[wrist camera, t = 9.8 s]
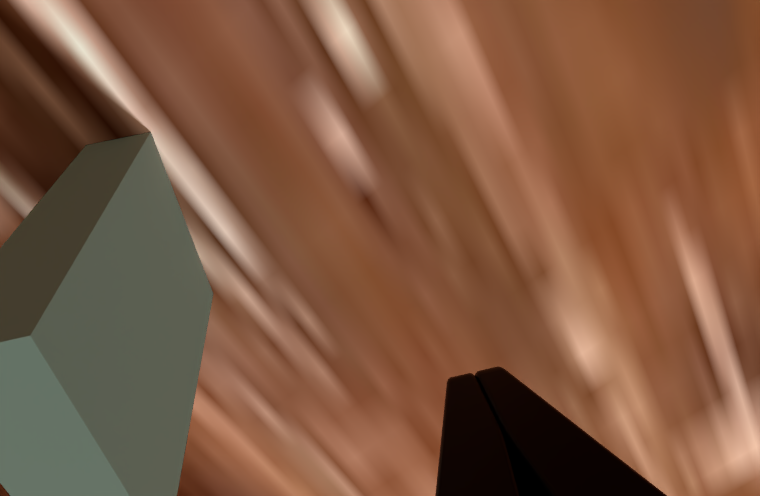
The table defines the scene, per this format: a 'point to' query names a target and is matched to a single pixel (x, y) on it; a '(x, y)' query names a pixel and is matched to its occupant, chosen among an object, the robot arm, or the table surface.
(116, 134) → the table surface
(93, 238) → the teal domino
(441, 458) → the robot arm
